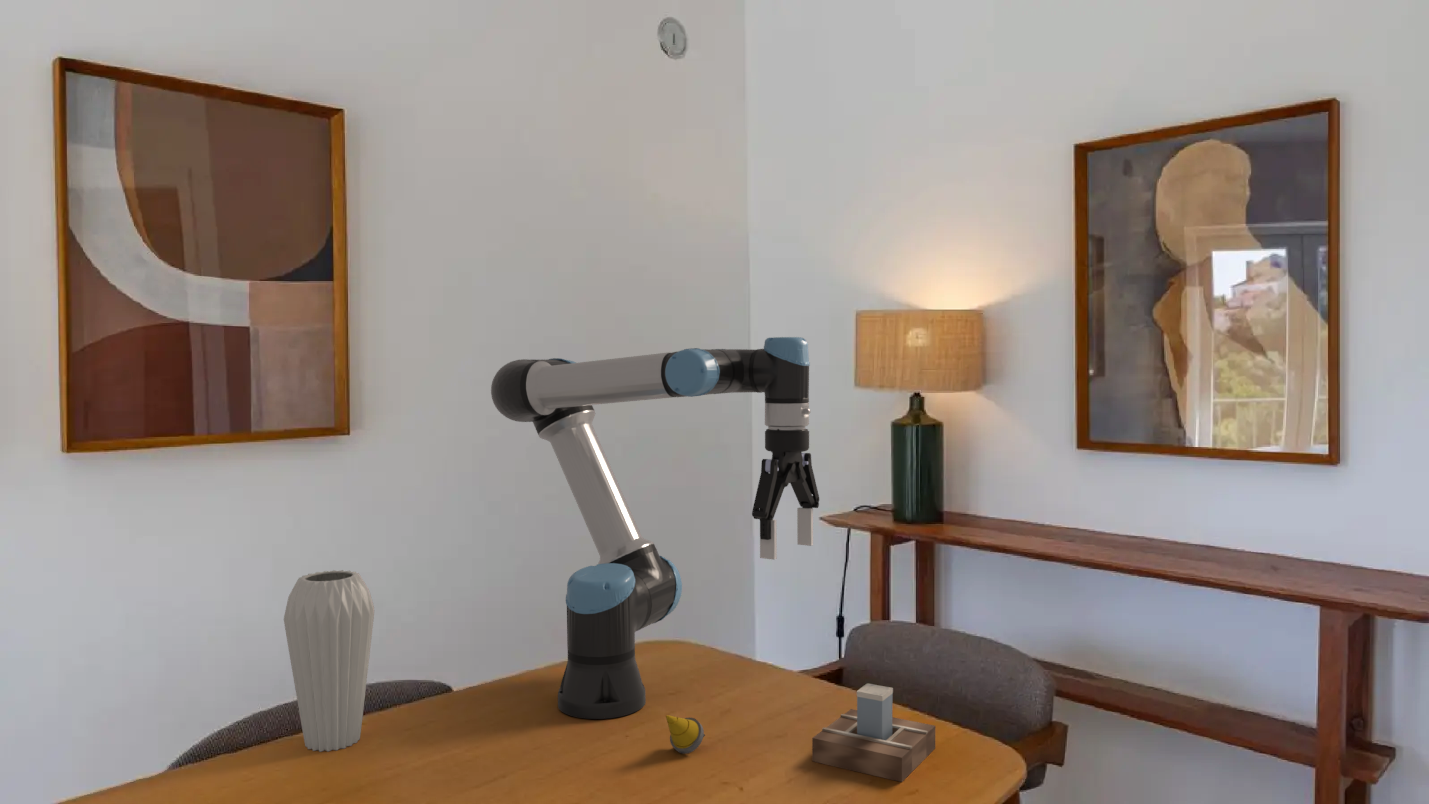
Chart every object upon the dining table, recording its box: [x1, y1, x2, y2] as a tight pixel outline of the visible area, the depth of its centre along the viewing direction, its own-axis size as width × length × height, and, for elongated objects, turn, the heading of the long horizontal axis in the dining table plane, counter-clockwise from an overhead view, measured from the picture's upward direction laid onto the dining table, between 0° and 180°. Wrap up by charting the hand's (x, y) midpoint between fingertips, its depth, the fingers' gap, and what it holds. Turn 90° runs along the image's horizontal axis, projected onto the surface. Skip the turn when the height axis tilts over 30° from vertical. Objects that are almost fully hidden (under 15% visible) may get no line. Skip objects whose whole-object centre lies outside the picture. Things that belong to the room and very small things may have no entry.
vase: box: [283, 569, 375, 752], centre depth 154 cm, size 13×13×26 cm
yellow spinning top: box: [665, 715, 706, 755], centre depth 149 cm, size 5×5×10 cm
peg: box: [856, 683, 894, 740], centre depth 148 cm, size 4×4×10 cm
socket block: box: [811, 708, 936, 783], centre depth 148 cm, size 14×14×4 cm
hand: (787, 551), depth 168 cm, fingers open, 13 cm apart
